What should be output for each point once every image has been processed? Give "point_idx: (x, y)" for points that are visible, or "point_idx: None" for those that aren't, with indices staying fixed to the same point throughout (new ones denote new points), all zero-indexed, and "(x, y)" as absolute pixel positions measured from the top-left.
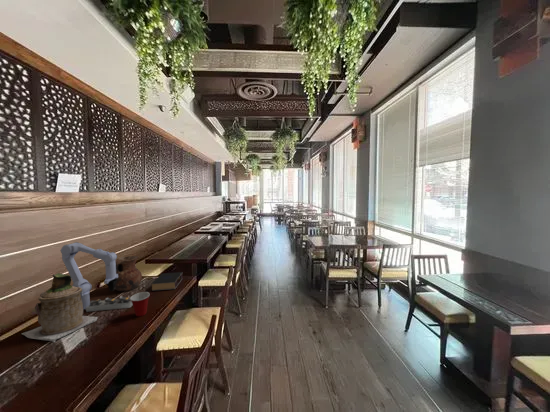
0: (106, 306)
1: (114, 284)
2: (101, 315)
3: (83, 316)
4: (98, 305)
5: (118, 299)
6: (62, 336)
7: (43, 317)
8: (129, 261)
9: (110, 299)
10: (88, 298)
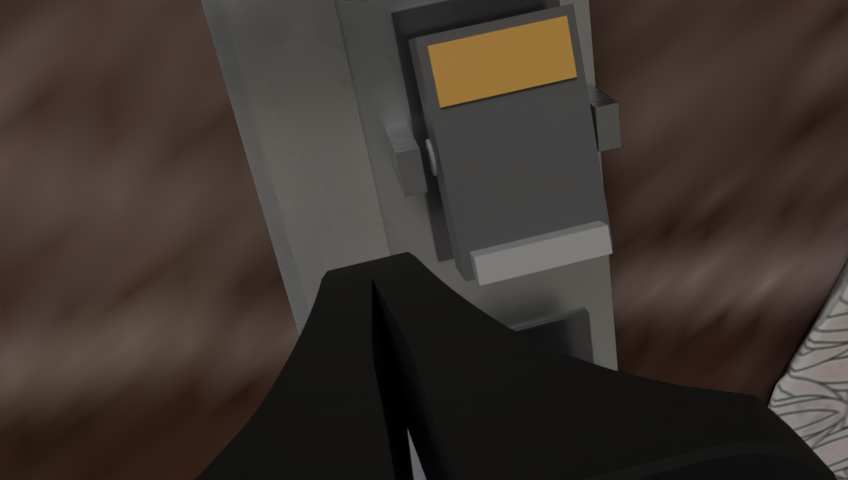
0: None
1: (429, 380)
2: (806, 26)
3: (839, 317)
4: (609, 312)
5: (261, 30)
6: None
7: None
8: None
9: (514, 146)
10: None
